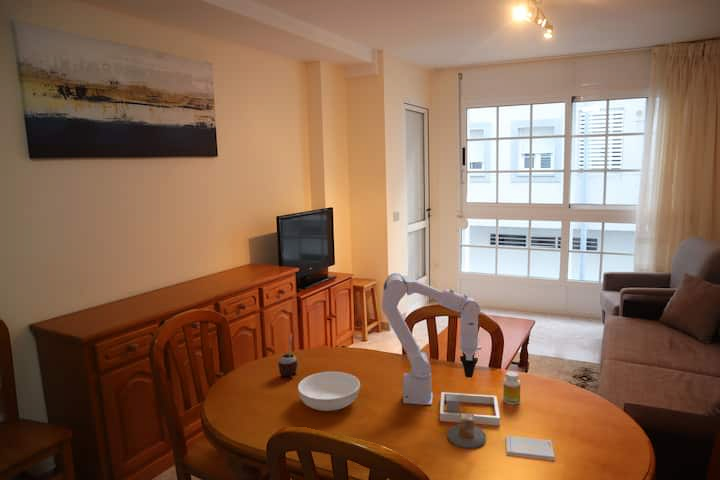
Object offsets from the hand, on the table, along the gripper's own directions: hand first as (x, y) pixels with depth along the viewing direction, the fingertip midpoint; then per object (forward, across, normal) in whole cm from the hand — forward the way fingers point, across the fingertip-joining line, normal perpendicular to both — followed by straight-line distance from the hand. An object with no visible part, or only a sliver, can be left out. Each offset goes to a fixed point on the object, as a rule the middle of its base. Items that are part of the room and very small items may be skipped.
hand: (468, 372), depth 165 cm
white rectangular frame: (+9, -9, 0) cm, 13 cm away
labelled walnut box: (+8, -24, +1) cm, 25 cm away
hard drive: (+10, -27, -16) cm, 33 cm away
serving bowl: (+10, -10, +46) cm, 48 cm away
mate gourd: (+10, +8, +67) cm, 68 cm away
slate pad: (+9, -24, +1) cm, 26 cm away
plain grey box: (+10, -11, +5) cm, 15 cm away
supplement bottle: (+10, 0, -14) cm, 17 cm away
